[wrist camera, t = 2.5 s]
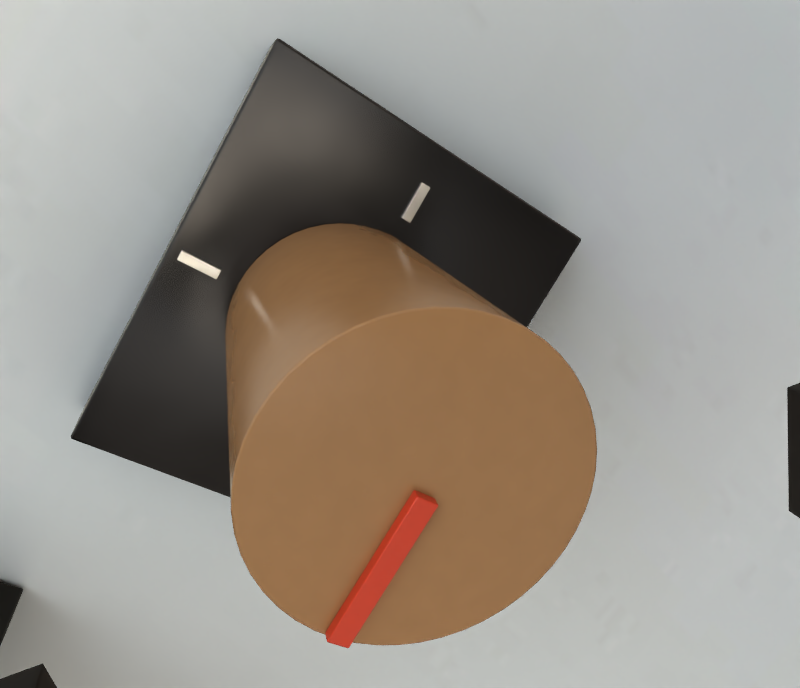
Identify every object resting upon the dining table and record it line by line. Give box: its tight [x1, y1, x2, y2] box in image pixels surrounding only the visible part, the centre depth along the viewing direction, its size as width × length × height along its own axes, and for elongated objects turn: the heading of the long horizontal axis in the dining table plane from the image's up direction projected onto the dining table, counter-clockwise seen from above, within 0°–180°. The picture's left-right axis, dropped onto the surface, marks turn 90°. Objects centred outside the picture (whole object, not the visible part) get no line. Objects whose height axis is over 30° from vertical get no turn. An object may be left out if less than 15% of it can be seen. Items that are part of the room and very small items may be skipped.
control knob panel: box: [71, 39, 581, 497], centre depth 25 cm, size 15×13×3 cm
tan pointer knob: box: [225, 223, 597, 648], centre depth 19 cm, size 8×8×11 cm
